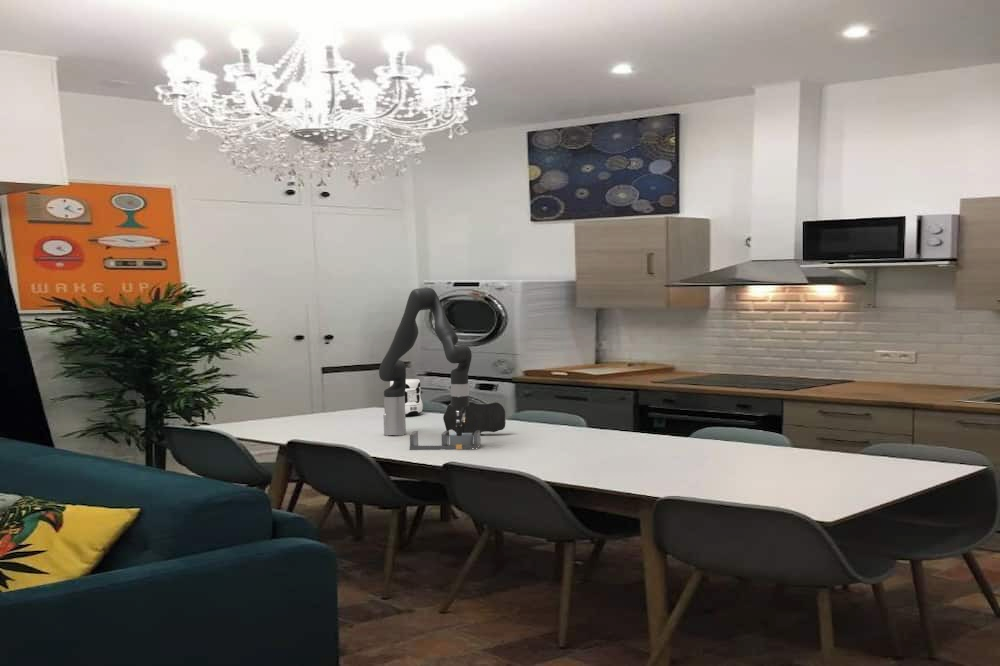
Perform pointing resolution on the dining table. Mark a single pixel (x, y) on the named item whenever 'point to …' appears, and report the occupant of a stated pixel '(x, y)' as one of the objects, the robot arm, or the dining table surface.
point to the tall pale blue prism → (461, 439)
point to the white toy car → (412, 397)
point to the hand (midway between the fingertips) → (460, 434)
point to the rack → (443, 442)
